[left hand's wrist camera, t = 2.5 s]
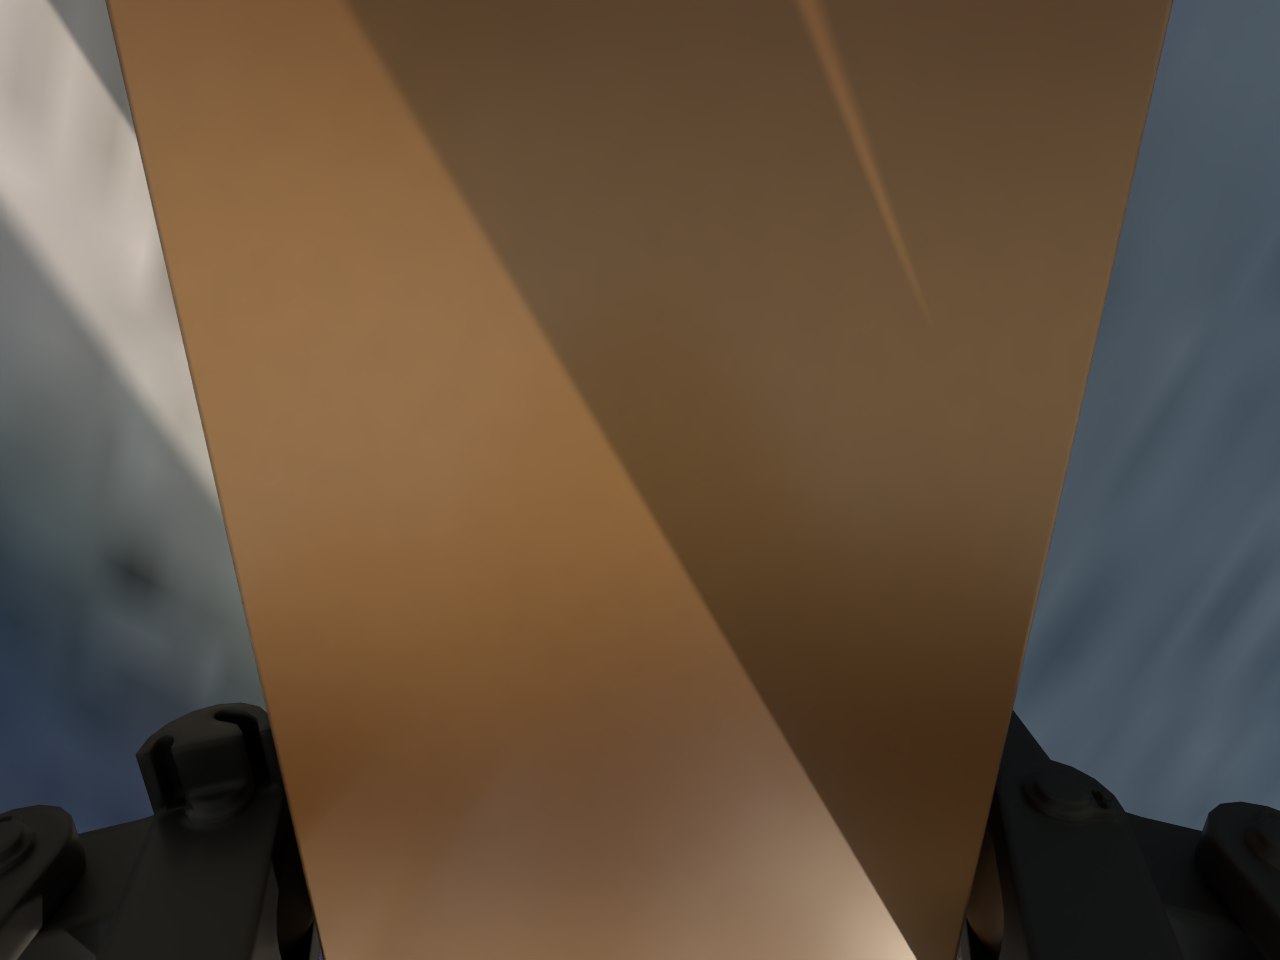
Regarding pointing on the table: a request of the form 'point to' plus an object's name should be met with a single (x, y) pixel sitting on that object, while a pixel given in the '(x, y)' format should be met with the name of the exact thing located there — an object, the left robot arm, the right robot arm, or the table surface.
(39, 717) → the table surface
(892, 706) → the box
